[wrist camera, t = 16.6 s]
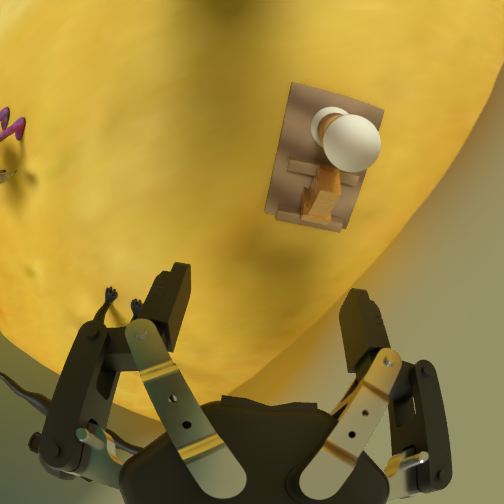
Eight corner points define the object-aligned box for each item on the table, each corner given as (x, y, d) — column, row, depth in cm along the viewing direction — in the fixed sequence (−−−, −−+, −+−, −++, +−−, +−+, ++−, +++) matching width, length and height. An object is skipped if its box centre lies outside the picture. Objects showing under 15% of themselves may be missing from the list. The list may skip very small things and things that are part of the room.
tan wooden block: (301, 192, 35) (315, 161, 30) (327, 198, 35) (343, 169, 30) (300, 219, 33) (315, 190, 28) (327, 225, 33) (346, 197, 28)
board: (291, 82, 28) (300, 80, 19) (380, 109, 28) (418, 121, 20) (264, 209, 38) (262, 251, 30) (343, 225, 39) (361, 268, 30)
